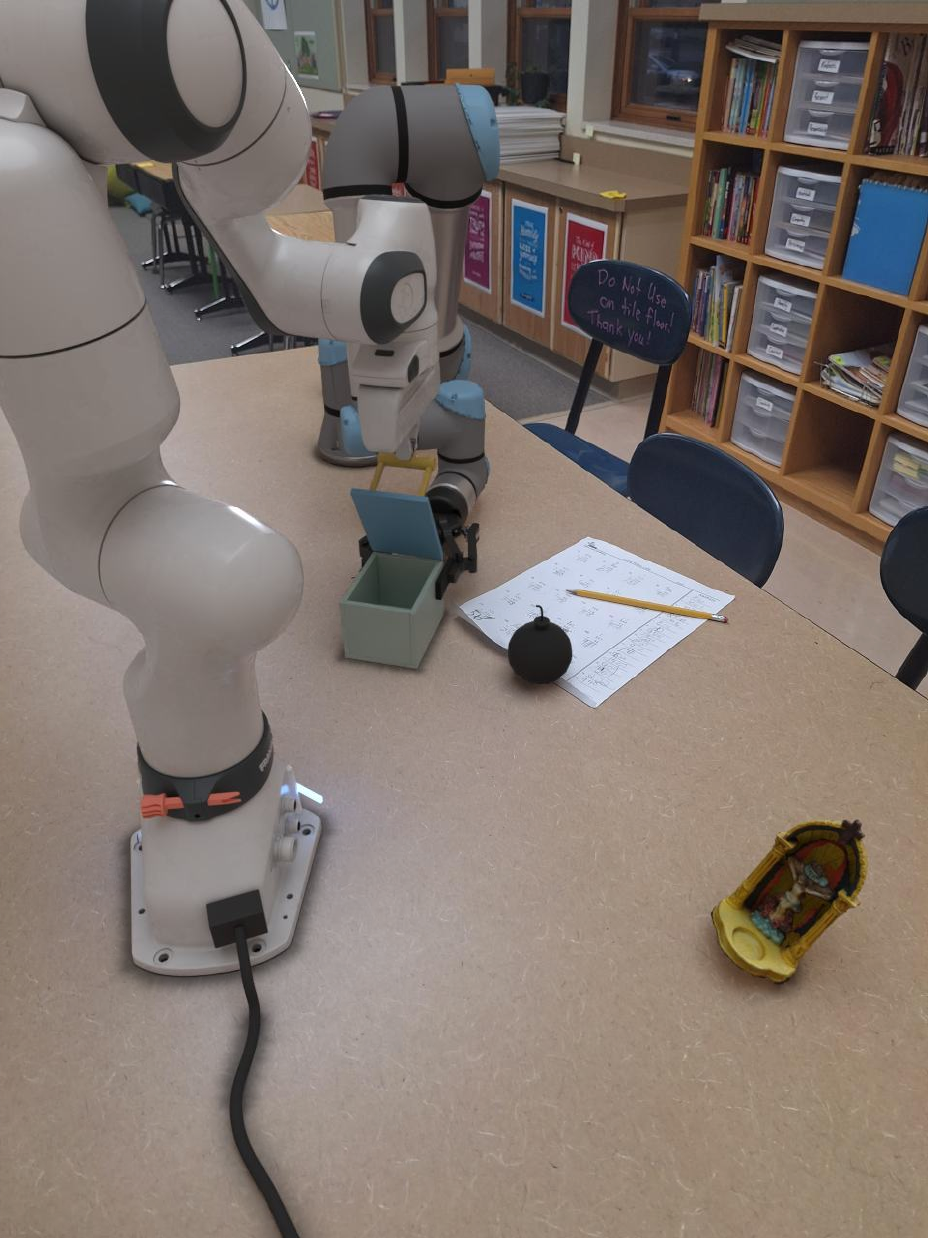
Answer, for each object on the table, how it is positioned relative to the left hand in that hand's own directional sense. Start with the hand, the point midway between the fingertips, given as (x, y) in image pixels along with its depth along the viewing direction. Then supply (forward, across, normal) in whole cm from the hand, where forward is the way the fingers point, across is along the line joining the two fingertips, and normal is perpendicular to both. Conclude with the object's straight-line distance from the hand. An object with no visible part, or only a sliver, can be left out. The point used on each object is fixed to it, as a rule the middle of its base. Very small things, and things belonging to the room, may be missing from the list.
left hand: (407, 454), depth 108 cm
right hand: (+16, +6, 0) cm, 17 cm away
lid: (+8, +5, 0) cm, 9 cm away
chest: (+22, +8, 0) cm, 24 cm away
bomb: (+22, +13, +20) cm, 33 cm away
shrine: (+22, +45, +47) cm, 68 cm away
